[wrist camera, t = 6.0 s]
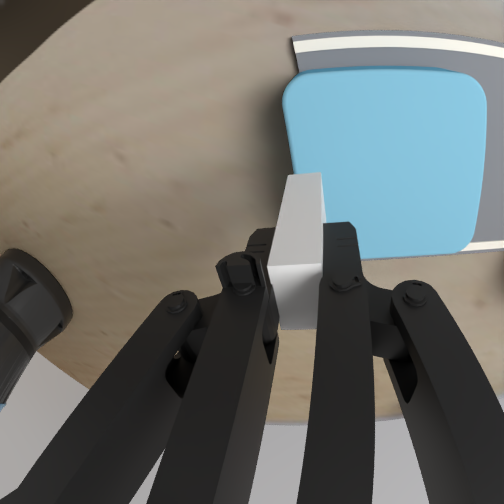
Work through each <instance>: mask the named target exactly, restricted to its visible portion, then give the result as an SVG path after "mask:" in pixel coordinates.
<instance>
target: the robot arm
mask: <svg viewBox="0 0 504 504" xmlns="http://www.w3.org/2000/svg"><path fill="white" fill-rule="evenodd" d="M215 267H216V270H217V273H218V276H219V278H220V281H221V284H222V287H223V289H222V292H221V293H220V294H217V295H214V296H210V297H206V298H202V299H197V297H196V295H195V294H194V293H193V292H191V291H188V290H180V291H176V292H173V293H171V294H169V295H167V296H166V297H165V298H164V299H163V300H161V301H160V303H159V304H158V305H157V306H156V307H155V309H154V310H153V311H152V312H151V313H150V315H149V316H148V317H147V318H146V320H145V321H144V322H143V323H142V324H141V326H140V327H139V328H138V329H137V331H136V332H135V333H134V334H133V336H132V337H131V338H130V339H129V340H128V342H127V343H126V344H125V345H124V347H123V348H122V349H121V350H120V352H119V353H118V354H117V355H116V357H115V358H114V359H113V360H112V362H111V363H110V364H109V366H108V367H107V368H106V369H105V371H104V372H103V373H102V374H101V376H100V377H99V378H98V380H97V381H96V382H95V383H94V385H93V386H92V387H91V389H90V390H89V391H88V392H87V394H86V395H85V396H84V398H83V399H82V401H81V402H80V403H79V404H78V406H77V407H76V408H75V410H74V411H73V412H72V414H71V415H70V416H69V418H68V419H67V420H66V421H65V423H64V424H63V426H62V427H61V428H60V430H59V431H58V433H57V434H56V435H55V436H54V438H53V439H52V441H51V442H50V443H49V445H48V446H47V447H46V449H45V450H44V451H43V453H42V454H41V456H40V457H39V458H38V460H37V461H36V463H35V464H34V465H33V467H32V468H31V470H30V471H29V473H28V474H27V475H26V477H25V478H24V480H23V481H22V483H21V484H20V485H19V487H18V488H17V489H16V490H14V491H13V492H11V493H10V494H8V495H7V496H5V497H4V498H2V499H1V500H0V504H129V503H130V501H131V500H132V498H133V497H134V495H135V494H136V492H137V491H138V489H139V488H140V486H141V485H142V483H143V482H144V480H145V478H146V477H147V475H148V474H149V472H150V471H151V469H152V468H153V466H154V465H155V463H156V461H157V460H158V458H159V457H160V455H161V454H162V452H163V451H164V449H165V451H164V454H163V456H162V459H161V462H160V465H159V468H158V471H157V474H156V477H155V480H154V483H153V486H152V489H151V491H150V495H149V498H148V500H147V503H146V504H248V502H249V498H250V493H251V489H252V484H253V479H254V475H255V470H256V465H257V460H258V455H259V451H260V446H261V441H262V435H263V430H264V425H265V420H266V415H267V409H268V404H269V399H270V393H271V388H272V382H273V376H274V371H275V365H276V359H277V353H278V347H279V337H278V332H277V330H278V324H279V322H280V327H281V330H297V329H317V332H316V347H315V359H314V371H313V382H312V392H311V402H310V411H309V420H308V429H307V437H306V444H305V452H304V459H303V466H302V473H301V480H300V486H299V492H298V498H297V504H372V494H373V478H374V454H375V451H374V450H375V396H374V370H373V356H377V357H382V358H383V359H384V362H385V365H386V368H387V370H388V373H389V376H390V379H391V381H392V384H393V387H394V390H395V392H396V395H397V398H398V401H399V404H400V407H401V410H402V412H403V415H404V418H405V421H406V424H407V428H408V431H409V433H410V437H411V440H412V443H413V446H414V449H415V453H416V456H417V460H418V463H419V467H420V470H421V474H422V477H423V481H424V485H425V488H426V492H427V496H428V500H429V504H504V412H503V410H502V408H501V405H500V403H499V401H498V399H497V397H496V395H495V393H494V391H493V389H492V387H491V385H490V383H489V381H488V379H487V377H486V375H485V373H484V371H483V369H482V367H481V365H480V364H479V362H478V360H477V358H476V356H475V354H474V353H473V351H472V349H471V347H470V346H469V344H468V342H467V340H466V339H465V337H464V335H463V333H462V332H461V330H460V328H459V327H458V325H457V323H456V322H455V320H454V319H453V317H452V315H451V314H450V312H449V311H448V309H447V307H446V306H445V304H444V303H443V301H442V300H441V298H440V297H439V295H438V293H437V292H436V291H435V289H434V288H433V287H432V286H431V285H429V284H427V283H425V282H423V281H418V280H408V281H404V282H402V283H399V284H398V285H397V286H396V287H395V288H394V289H393V290H388V289H383V288H379V287H376V286H374V285H372V284H371V283H369V282H368V281H367V280H366V279H365V277H364V276H363V272H362V266H361V258H360V251H359V246H358V239H357V232H356V228H355V227H354V226H353V225H352V224H351V223H350V222H334V223H326V213H325V204H324V194H323V186H322V177H321V172H316V173H304V174H294V175H288V178H287V182H286V186H285V191H284V195H283V200H282V204H281V208H280V213H279V217H278V221H277V226H276V228H263V229H257V230H256V231H255V232H254V233H253V234H252V235H251V236H250V238H249V241H248V243H247V247H246V249H245V252H243V251H242V252H236V253H232V254H230V255H228V256H225V257H224V258H223V259H221V260H220V261H219V262H218V263H217V265H216V266H215ZM71 319H72V308H71V304H70V302H69V299H68V297H67V296H66V294H65V292H64V290H63V289H62V287H61V286H60V285H59V283H58V282H57V281H56V279H55V278H54V277H53V276H52V275H51V273H50V272H49V271H48V270H47V269H46V268H45V267H44V266H43V265H42V264H40V263H39V262H38V261H37V260H36V259H34V258H33V257H32V256H30V255H28V254H27V253H25V252H23V251H21V250H18V249H8V250H7V251H5V252H4V254H3V255H2V256H1V257H0V411H1V410H2V408H3V407H4V406H5V405H6V401H7V399H8V398H9V396H10V394H11V392H12V390H13V389H14V387H15V385H16V383H17V382H18V380H19V378H20V377H21V375H22V373H23V372H24V370H25V368H26V366H27V365H28V363H29V362H30V360H31V358H32V357H33V355H34V354H35V352H36V351H37V350H38V349H39V348H40V347H42V346H43V345H44V344H46V343H47V342H49V341H50V340H51V339H53V338H54V337H55V336H57V335H58V334H60V333H61V332H62V331H63V330H64V329H65V328H66V326H67V325H68V323H69V322H70V321H71ZM177 351H179V352H178V353H177ZM176 353H177V354H176ZM175 354H176V355H175Z"/></svg>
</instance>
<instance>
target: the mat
mask: <svg viewBox="0 0 504 504" xmlns="http://www.w3.org/2000/svg"><path fill="white" fill-rule="evenodd" d="M292 39H293V44H294V49H295V53H296V58H297V63H298V68H299V73H300V72H303V71H306V70H312V69H322V68H335V67H352V66H421V67H437V68H443V69H447V70H452V71H456V72H460V73H464V74H467V75H469V76H471V77H473V78H474V79H475V80H476V81H477V82H478V83H479V84H480V85H481V87H482V89H483V90H484V93H485V96H486V101H487V126H486V148H485V161H484V171H483V181H482V189H481V196H480V203H479V209H478V215H477V221H476V226H475V231H474V235H473V238H472V240H471V241H470V243H469V244H468V245H467V246H466V247H465V248H464V249H463V250H461V251H459V252H456V253H453V254H439V255H423V256H406V257H389V258H371V259H361V261H368V260H384V259H399V258H414V257H429V256H443V255H456V254H470V253H483V252H496V251H504V43H501V42H496V41H491V40H486V39H480V38H474V37H468V36H461V35H453V34H445V33H434V32H422V31H402V30H360V31H340V32H326V33H316V34H306V35H298V36H292Z"/></svg>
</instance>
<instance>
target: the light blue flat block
mask: <svg viewBox="0 0 504 504" xmlns="http://www.w3.org/2000/svg"><path fill="white" fill-rule="evenodd" d="M282 108H283V113H284V119H285V124H286V130H287V136H288V141H289V147H290V153H291V160H292V166H293V172H294V174H304V173H316V172H321V177H322V186H323V194H324V204H325V213H326V223H334V222H350V223H351V224H352V225H353V226H354V227H355V228H356V232H357V239H358V246H359V251H360V258H361V259H371V258H389V257H406V256H423V255H439V254H453V253H456V252H459V251H461V250H463V249H464V248H465V247H466V246H467V245H468V244H469V243H470V241H471V240H472V238H473V235H474V231H475V226H476V221H477V215H478V209H479V203H480V196H481V189H482V181H483V171H484V161H485V148H486V126H487V101H486V96H485V93H484V90H483V89H482V87H481V85H480V84H479V83H478V82H477V81H476V80H475V79H474V78H473V77H471V76H469V75H467V74H464V73H460V72H456V71H452V70H447V69H443V68H437V67H421V66H352V67H335V68H322V69H312V70H306V71H303V72H300V73H299V74H297V75H296V76H295V77H294V78H293V79H292V80H291V81H290V83H289V84H288V85H287V87H286V88H285V90H284V93H283V97H282Z"/></svg>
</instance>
